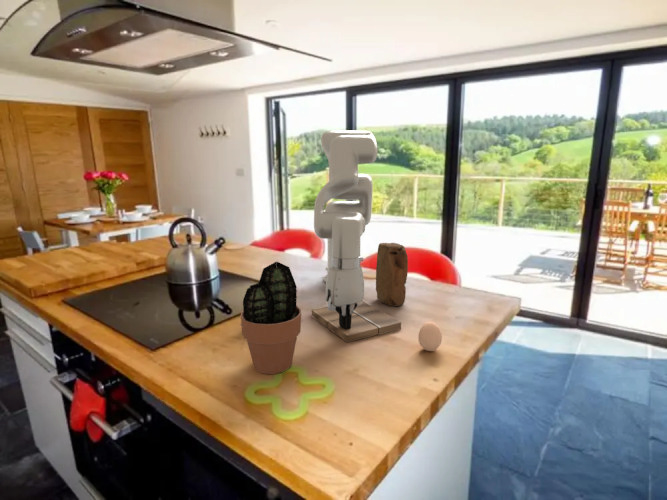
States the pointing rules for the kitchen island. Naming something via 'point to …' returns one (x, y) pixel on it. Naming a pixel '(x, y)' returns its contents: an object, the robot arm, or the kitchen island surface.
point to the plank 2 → (354, 329)
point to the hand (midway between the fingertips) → (345, 327)
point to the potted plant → (271, 319)
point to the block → (391, 273)
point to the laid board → (377, 318)
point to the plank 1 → (325, 315)
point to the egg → (430, 336)
